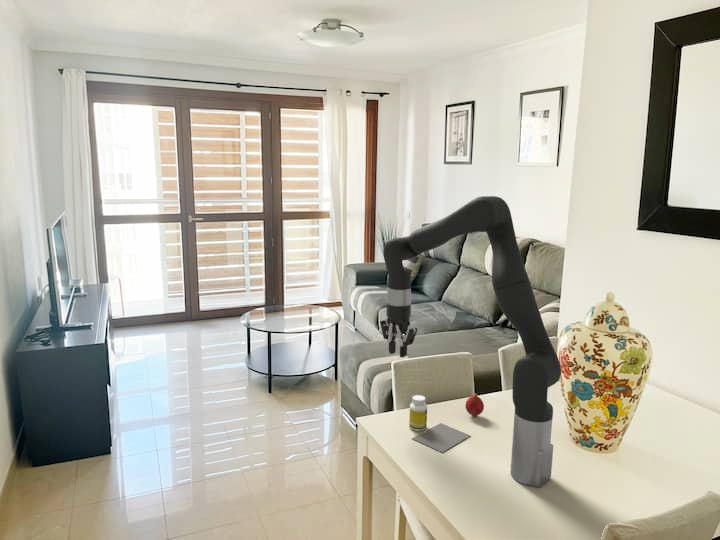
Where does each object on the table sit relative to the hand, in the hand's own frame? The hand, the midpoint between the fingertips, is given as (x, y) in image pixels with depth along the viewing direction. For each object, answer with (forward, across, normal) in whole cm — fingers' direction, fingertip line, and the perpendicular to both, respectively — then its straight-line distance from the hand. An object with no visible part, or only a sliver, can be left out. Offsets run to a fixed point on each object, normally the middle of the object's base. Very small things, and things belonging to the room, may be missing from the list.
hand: (397, 354), depth 165 cm
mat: (+21, -18, 0) cm, 28 cm away
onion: (+21, -17, -19) cm, 33 cm away
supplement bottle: (+21, -9, 0) cm, 23 cm away
